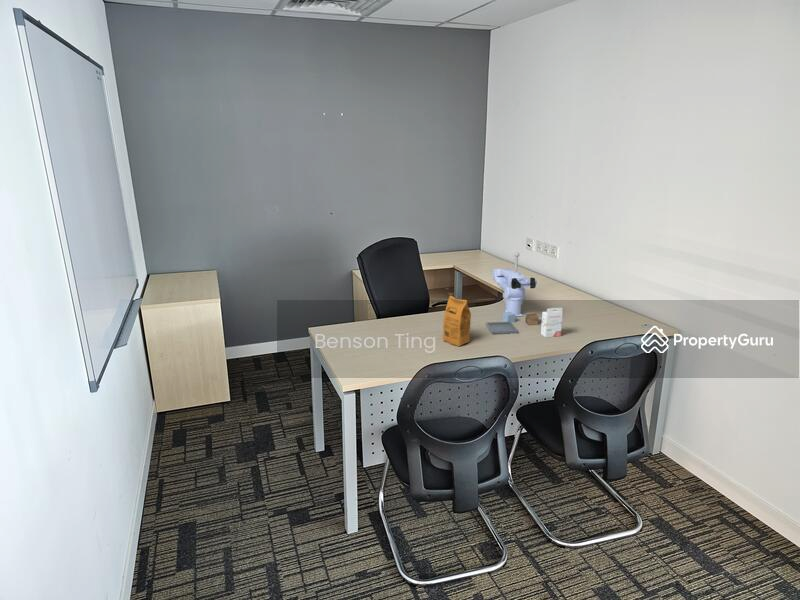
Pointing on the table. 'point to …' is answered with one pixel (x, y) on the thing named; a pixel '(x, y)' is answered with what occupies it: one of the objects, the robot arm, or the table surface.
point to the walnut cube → (531, 319)
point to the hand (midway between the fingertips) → (527, 285)
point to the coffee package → (456, 322)
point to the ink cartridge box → (552, 322)
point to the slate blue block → (509, 317)
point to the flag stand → (514, 271)
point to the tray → (501, 327)
